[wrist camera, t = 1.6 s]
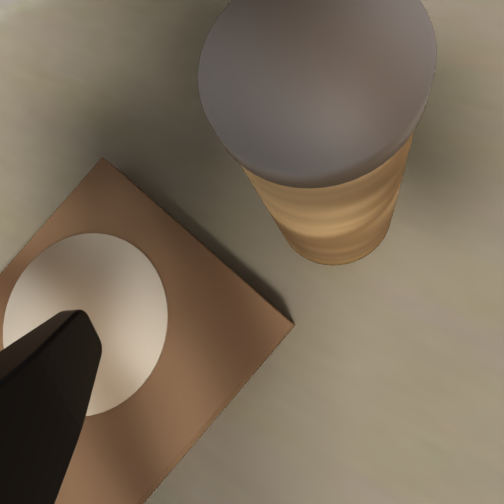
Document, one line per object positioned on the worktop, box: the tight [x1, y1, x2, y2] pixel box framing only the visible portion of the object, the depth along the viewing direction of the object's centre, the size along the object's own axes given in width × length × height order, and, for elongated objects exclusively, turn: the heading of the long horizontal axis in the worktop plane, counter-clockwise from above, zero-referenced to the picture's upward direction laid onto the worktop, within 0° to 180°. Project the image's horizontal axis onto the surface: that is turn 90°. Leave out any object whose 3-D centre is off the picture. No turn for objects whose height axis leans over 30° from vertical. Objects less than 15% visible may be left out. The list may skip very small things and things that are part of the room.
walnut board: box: [0, 158, 295, 504], centre depth 21 cm, size 16×12×2 cm
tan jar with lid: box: [198, 0, 437, 265], centre depth 15 cm, size 5×5×11 cm
